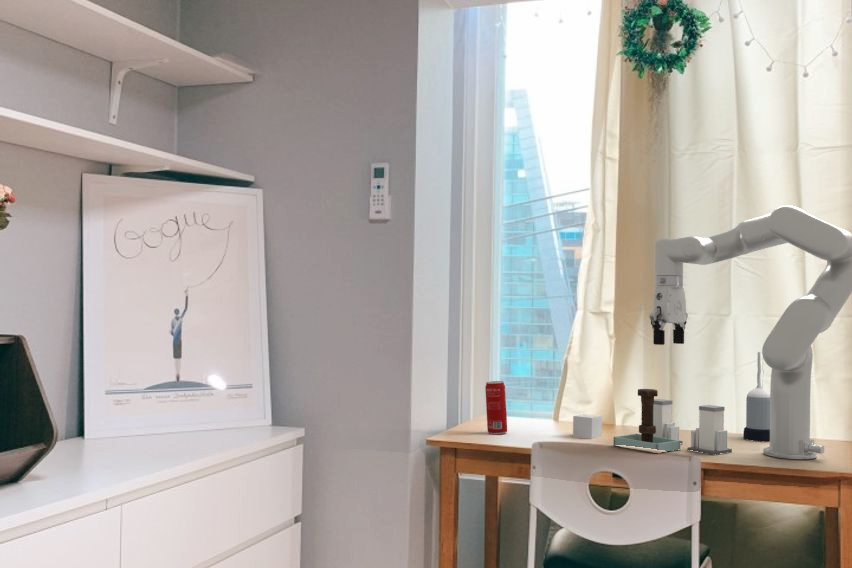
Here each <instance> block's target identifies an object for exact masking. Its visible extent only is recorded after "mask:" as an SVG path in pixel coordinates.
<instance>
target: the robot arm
mask: <svg viewBox="0 0 852 568" xmlns="http://www.w3.org/2000/svg"><path fill="white" fill-rule="evenodd" d="M784 244H790V245H792V246H794V247H796V248H798V249H799V250H802V251H805V252H806V253H808V254H810V255H812V256H814V257H816V258H818V259H821V260H823V261H827V263H826V265H825V268H824V269H823V271H822V272H821V273H820V274H819V276H818V277H817V278H816V280H815V282H814V284H813V285H812V287H811V288H810V290H809V291H808V292H807V294H806V295H805V296H801V297H799V298H796V299H795V300H793V301H792V302H791V303H790V304H789V305H788V307H786V309H785V310H784V312H783V313H782V315H781V317H779V319H778V320H777V322H776V324H775V325H774V327H773V328H772V330H771V331H770V333H769V334H768V335H767V337H766V338H765V340H764V342H763V345H762V349H761V350H762V351H761V354H762V360H763V362H765V364H766V365H767V366H768V367H769V368H771V374H770V386H769V389H770V391H769V394H770V441H769V446H768V447H764V448H763V454H764V455H766V456H770V457H774V458H778V459H779V458H780V459H788V460H789V459H790V460H811V459H815V458H816V457H817V454H821V455H823V454H824V453H825V446H824V445H821V444H816V443H815V438H811V383H812V382H811V381H812V368H813V360H814V359H813V358H814V357H813V355H814V354H813V348H812V345H813V343H814V342H815V340H816V339H817V337H818V336H819V335H820V334H822V333H824V332H826V331H827V330H828V329H829V328H830V327H831V326H832V324H833V322H834V321H835V318H836V317H837V316H838V315H839V313H840V311H841V310H842V308H843V307H844V305H845V303H846V302H847V301H848V299H849V298H850V295H852V233H851V232H849V231H848V230H846V229H844V228H840V227H837V226H835V225H833V224H832V223H829V222H827V221H825V220H822V219H819V218H818V217H816V216H814V215H811V214H809V213H808V212H806V211H805V210H803V209H802V208H799V207H797V206H794V205H781V206H778V207H777V208H775V209H774V210H773V211H772V212H771V213H768V214H764V215H761V216H757V217H754V218H750V219H746V220H743V221H741V222H739V223H738V225H737V226H735V227H734V228H732V229H731V230H728V231H725V232H723V233H722V232H721V233H719V234H714V235H711V236H708V237H702V236H697V235H695V236H693V235H690V236H684V237H678V238H675V237H667V238H663V237H662V238H659V239H657V240H656V241H655V246H654V249H655V250H654V251H655V252H654V285H655V286H654V288H655V289H654V296H653V307H652V308H653V309H652V311H651V312H650V313H649V314H648V316H649V320H650V324H651V327H652V328H651V329H652V330H653V331H652V332H653V341H652V342H653V345H655V346H657V345H659V346H661V345H662V346H663V345H665V342H666V341H665V340H666V339H665V337H666V336H665V335H666V334H665V332H666V331H665V330H664V328H665V326H666V324H672V326H673V329H672V336H673V337H672V339H673V340H672V342H673V344H674V345H675V344H678V345H679V344H680V345H682V344H683V345H684V344H685V330H686V325H687V323H688V322H687V320H688V316H689V314H688V313H687V301H686V294H685V293H686V292H685V288H684V264H692V265H701V266H705V265H710V264H715V263H720V262H723V261H727V260H730V259H734V258H736V257H740V256H744V255H748V254H750V253H753V252H758V251H761V250H766V249H768V248H773V247H777V246H780V245H784Z"/></svg>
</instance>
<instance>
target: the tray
mask: <svg viewBox="0 0 852 568" xmlns="http://www.w3.org/2000/svg"><path fill="white" fill-rule="evenodd" d="M641 437H642V435H641V433H632V434H625V435H619V436H613V446H614V445H626V446H635V447H643V448H651V449H657V450H665V451H672V452H674V451H673V450H678V449H680V450H681V444H680V441H681V440H680V439H679V440H673V439H667V438H661V437H655V436H653V443H650V442H644V441H642V440H641ZM678 451H679V450H678Z"/></svg>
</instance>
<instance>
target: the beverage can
mask: <svg viewBox="0 0 852 568" xmlns="http://www.w3.org/2000/svg"><path fill="white" fill-rule="evenodd" d="M484 388H485V407H486V427H487V433H488V434H489V433H490V435H502V434H503V435H504V434H506V433H508V419H507V417H508V416H507V413H508V412H507V399H506V398H507V397H506V385H505V382H504V381H502V380H500V381H499V380H495V381H492V380H491V381H487V382H486V384H485V387H484Z"/></svg>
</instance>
